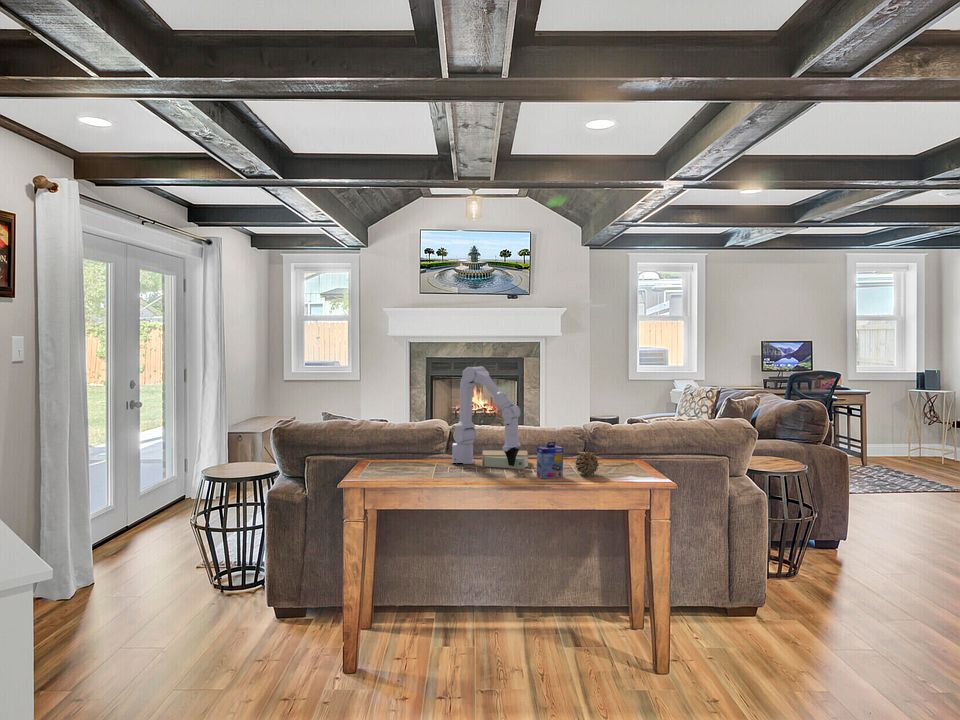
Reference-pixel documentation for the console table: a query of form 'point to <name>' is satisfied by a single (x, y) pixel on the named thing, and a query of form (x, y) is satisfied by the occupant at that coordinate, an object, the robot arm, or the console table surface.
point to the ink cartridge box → (549, 461)
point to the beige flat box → (504, 455)
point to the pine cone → (586, 463)
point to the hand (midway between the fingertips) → (511, 465)
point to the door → (503, 462)
